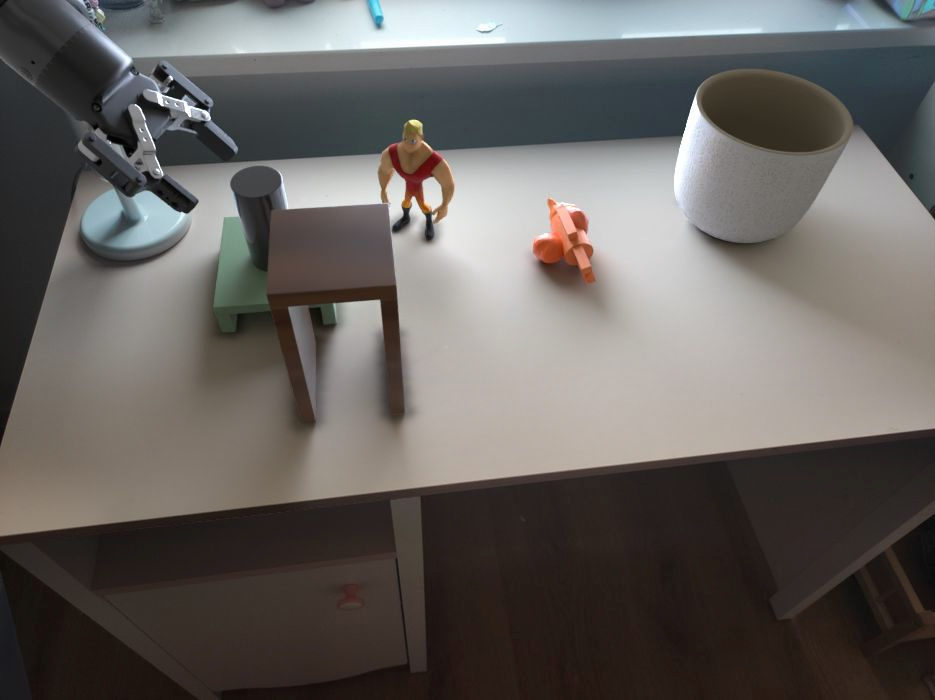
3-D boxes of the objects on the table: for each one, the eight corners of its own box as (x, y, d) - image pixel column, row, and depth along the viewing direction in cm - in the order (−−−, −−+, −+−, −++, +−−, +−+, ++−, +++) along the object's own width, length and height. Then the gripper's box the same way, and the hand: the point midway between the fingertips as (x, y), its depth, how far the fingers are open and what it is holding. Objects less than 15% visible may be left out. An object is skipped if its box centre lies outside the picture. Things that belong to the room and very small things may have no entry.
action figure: (373, 227, 86) (363, 119, 74) (385, 210, 88) (377, 101, 76) (446, 247, 84) (447, 139, 72) (456, 229, 86) (459, 120, 74)
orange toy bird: (608, 251, 76) (574, 183, 83) (543, 276, 77) (515, 205, 84) (614, 281, 80) (581, 212, 87) (552, 303, 81) (524, 234, 88)
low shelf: (336, 324, 76) (332, 298, 73) (222, 333, 75) (212, 307, 71) (334, 236, 85) (330, 210, 81) (231, 243, 83) (223, 217, 80)
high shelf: (405, 413, 69) (396, 285, 55) (301, 423, 68) (265, 294, 54) (397, 335, 75) (388, 202, 61) (302, 343, 74) (270, 209, 60)
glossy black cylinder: (275, 278, 74) (256, 204, 66) (241, 259, 76) (218, 184, 68) (307, 252, 77) (293, 177, 69) (273, 234, 79) (255, 159, 71)
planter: (823, 252, 86) (885, 146, 74) (694, 270, 83) (737, 162, 71) (758, 168, 96) (804, 62, 84) (641, 181, 93) (671, 74, 81)
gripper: (23, 69, 55) (198, 210, 63) (121, -10, 64) (263, 122, 71) (-4, 118, 60) (161, 244, 67) (90, 39, 69) (227, 157, 76)
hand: (214, 181), depth 69 cm, fingers open, 8 cm apart
